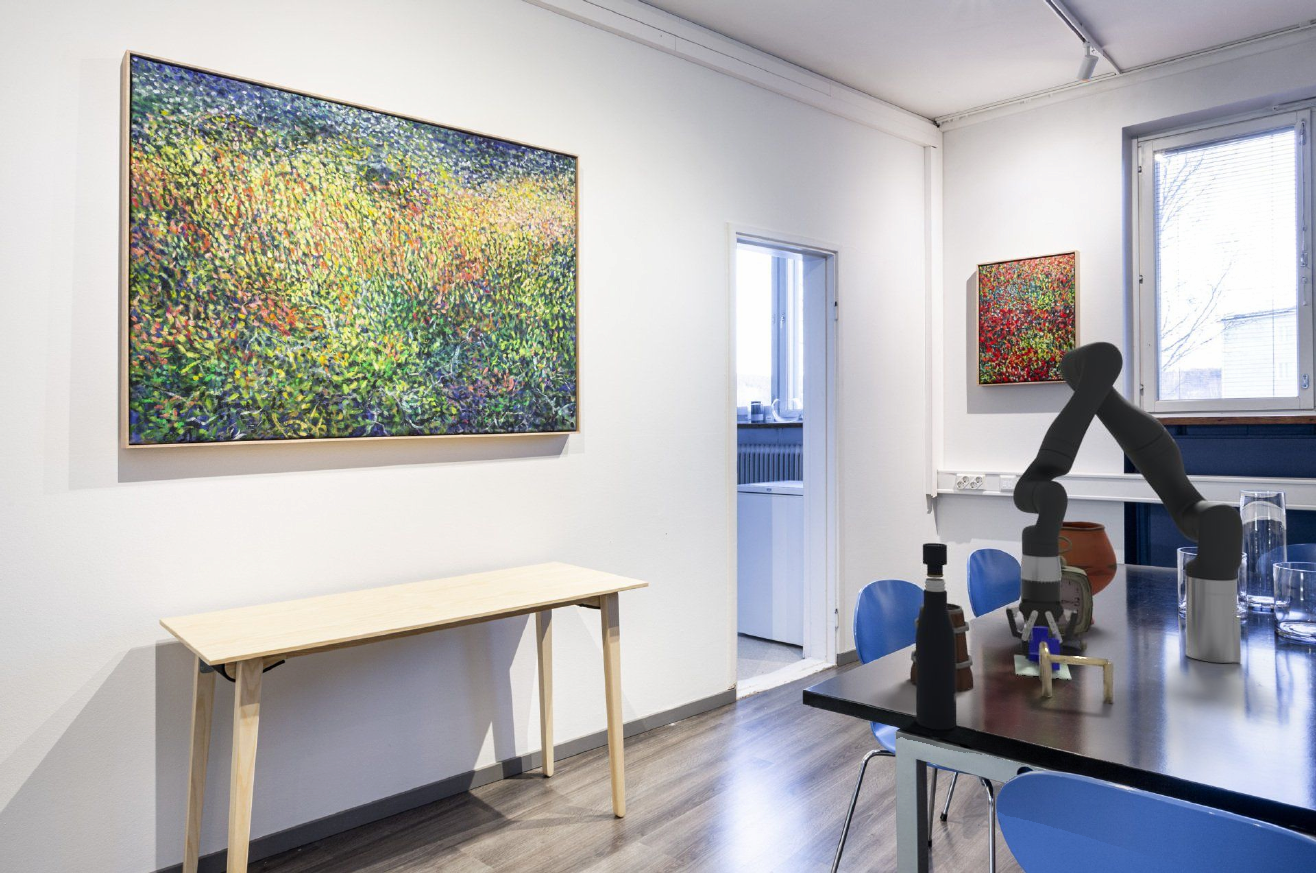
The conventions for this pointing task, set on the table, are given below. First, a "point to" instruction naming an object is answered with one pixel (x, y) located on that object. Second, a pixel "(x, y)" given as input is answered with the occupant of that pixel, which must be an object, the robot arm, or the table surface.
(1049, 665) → the wire track
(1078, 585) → the tabletop clock
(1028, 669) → the pad
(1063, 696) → the table surface
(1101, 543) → the terracotta pot
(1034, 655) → the cable clip
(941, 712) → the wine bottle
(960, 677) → the mug
